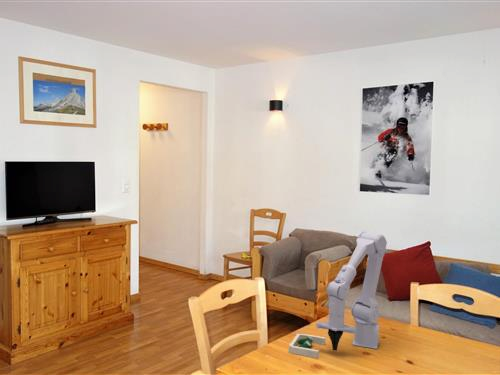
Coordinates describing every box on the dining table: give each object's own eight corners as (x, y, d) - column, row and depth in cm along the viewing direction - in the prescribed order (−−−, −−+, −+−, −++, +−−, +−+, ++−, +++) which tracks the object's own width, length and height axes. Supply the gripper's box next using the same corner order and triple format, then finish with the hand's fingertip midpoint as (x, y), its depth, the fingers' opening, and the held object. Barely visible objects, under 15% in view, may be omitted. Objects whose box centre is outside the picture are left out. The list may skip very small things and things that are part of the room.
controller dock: (325, 343, 178) (325, 337, 178) (318, 358, 164) (318, 351, 164) (297, 339, 182) (297, 333, 182) (288, 352, 168) (288, 346, 168)
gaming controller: (299, 358, 169) (311, 348, 167) (293, 350, 169) (304, 340, 168) (303, 348, 177) (315, 339, 176) (297, 340, 178) (308, 331, 177)
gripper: (315, 314, 167) (313, 350, 168) (355, 320, 162) (353, 356, 163) (319, 308, 174) (317, 343, 175) (357, 314, 169) (355, 349, 170)
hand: (335, 349), depth 169 cm, fingers closed
